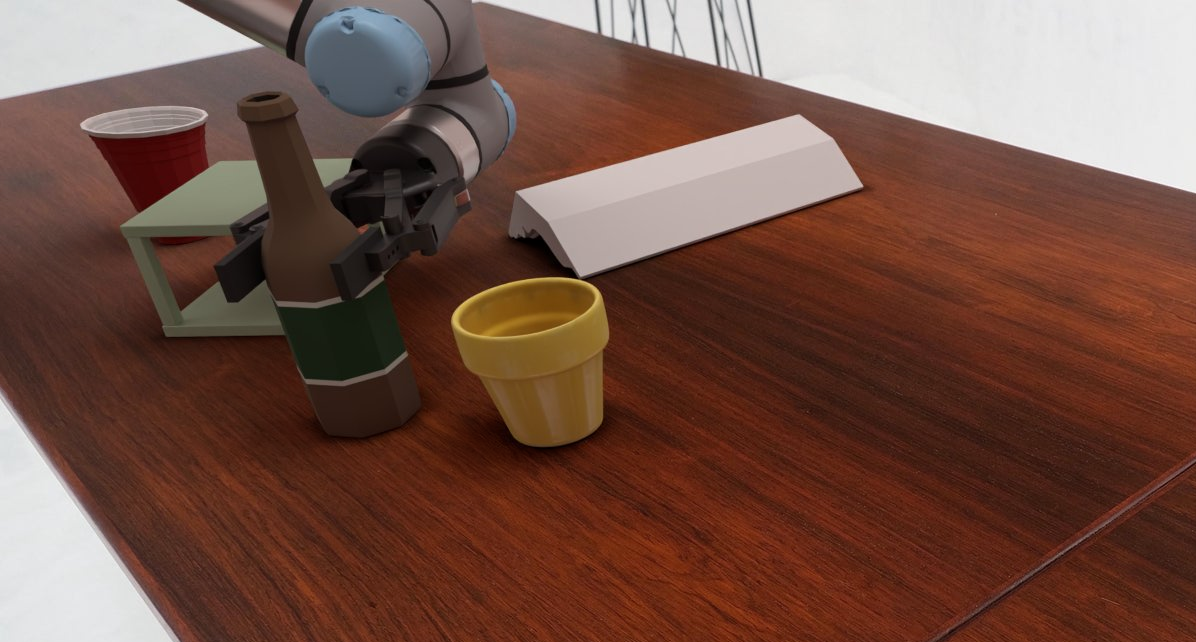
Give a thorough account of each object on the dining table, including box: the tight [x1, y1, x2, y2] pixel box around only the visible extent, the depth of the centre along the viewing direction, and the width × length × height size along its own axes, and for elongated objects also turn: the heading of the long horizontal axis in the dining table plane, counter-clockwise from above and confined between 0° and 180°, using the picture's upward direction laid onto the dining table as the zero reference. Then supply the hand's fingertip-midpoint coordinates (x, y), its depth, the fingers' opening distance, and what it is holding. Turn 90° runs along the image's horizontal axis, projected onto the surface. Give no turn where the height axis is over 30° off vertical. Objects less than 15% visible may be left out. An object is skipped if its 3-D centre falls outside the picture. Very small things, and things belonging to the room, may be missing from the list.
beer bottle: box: [236, 90, 422, 439], centre depth 91 cm, size 8×8×24 cm
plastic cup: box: [79, 105, 210, 245], centre depth 127 cm, size 11×11×12 cm
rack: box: [119, 157, 400, 338], centre depth 114 cm, size 14×16×10 cm
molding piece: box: [507, 113, 865, 281], centre depth 131 cm, size 32×12×10 cm
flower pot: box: [450, 276, 610, 448], centre depth 93 cm, size 10×10×10 cm
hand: (283, 283), depth 87 cm, fingers closed on beer bottle, 7 cm apart
